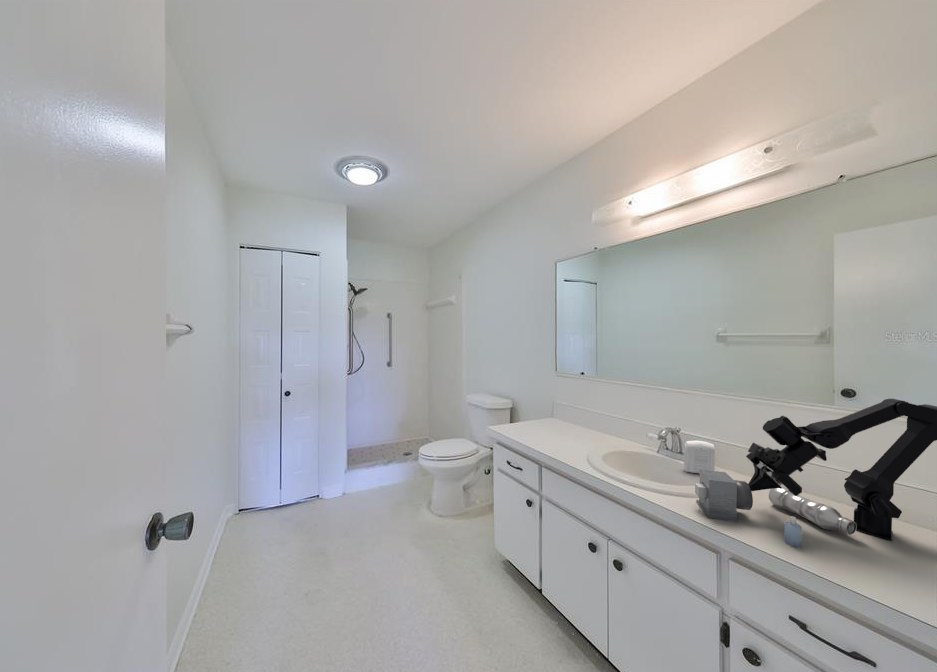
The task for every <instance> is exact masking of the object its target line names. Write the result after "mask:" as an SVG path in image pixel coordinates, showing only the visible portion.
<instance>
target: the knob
mask: <svg viewBox="0 0 937 672" xmlns="http://www.w3.org/2000/svg"><path fill="white" fill-rule="evenodd" d="M733 480H734V479H733ZM734 481H735V482H737V507H736V510H742V511H743V510H745V511H751V510H752V509H753V505H754V504H753V503H754V500H753V499H754V496H753V491H751V489H750V487H749V485H748V483H749V482H747V481H745V480H736V479H735V480H734ZM694 493H695V495H696V496H697V497H698V498H699V497H704V498H706V496H707V487H706V486H705V485H704V484H700V482H699V483H698V482H697V483H696V482H695V483H694Z"/></svg>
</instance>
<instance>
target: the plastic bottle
mask: <svg viewBox="0 0 937 672" xmlns="http://www.w3.org/2000/svg"><path fill="white" fill-rule="evenodd" d="M781 487H782V489H780V488H774V489H769V492H768V499H769V501H770V503H771V504H772V505H773V506H775V507H776V508H778V509H781V510H785V511H789V512H791V513H794V514H796V515H799V516H800V517H802V518H804V519H806V520H808V521H810V522H811V523H813V524H815V525H816V526H818V527H820V528H822V529H825V530H828V531H837V530H838V531H840V532H842V533H846V535H850V536H851V535H854V534H855V533H856V532H857V530H856V529H857V524H856V523H855V522H854V520H851V519H850V518H848V517H844V516H843V515H842V513H840V512H839V510H837V509H836V508H834V507H833V506H830V505H828V504H825V503H821V502H818V501H814V500H811V499H810V498H808V497H807V498H806V497H804V496H802V495H800V494H799V495H797V496H795V495H793V494H792V493H791V492H789V490H788V489H787V488H786V487H785V486H782V485H781Z"/></svg>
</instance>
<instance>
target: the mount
mask: <svg viewBox="0 0 937 672" xmlns="http://www.w3.org/2000/svg"><path fill="white" fill-rule="evenodd" d="M699 483H700V484H704V485H705V486H706V487H707V496H706V498H704V497H698V498H699V499H696V504H697V503H698V504H697V505H698V507H699V508H700V509H701V510H702V512H703V514H704V515H705V516H706V518H708V519H714V520H720V521H728V522H735V523H740V522H741V519H740V518H739V517H738V516H737V509H736V507H737V482H735V481H734V479H733V478H732V477H731V476H730V475H729V474H728V473H727V472H725V471H718V470H717V471H716V470H714V471H708V470H700V473H699Z"/></svg>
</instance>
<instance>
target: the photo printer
mask: <svg viewBox="0 0 937 672" xmlns="http://www.w3.org/2000/svg"><path fill="white" fill-rule="evenodd" d="M715 451H716V449H715V445H714V444H713V443H711V442H709V441H705V440H696V439H695V440H687V441H685V442H684V451H683V452H684V453H683V454H684V455H683V456H684V457H683V471H685V472H686V473H692V474H693V473H694V474H700V470H708V471H715V461H716V460H715V455H716V452H715Z"/></svg>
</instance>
